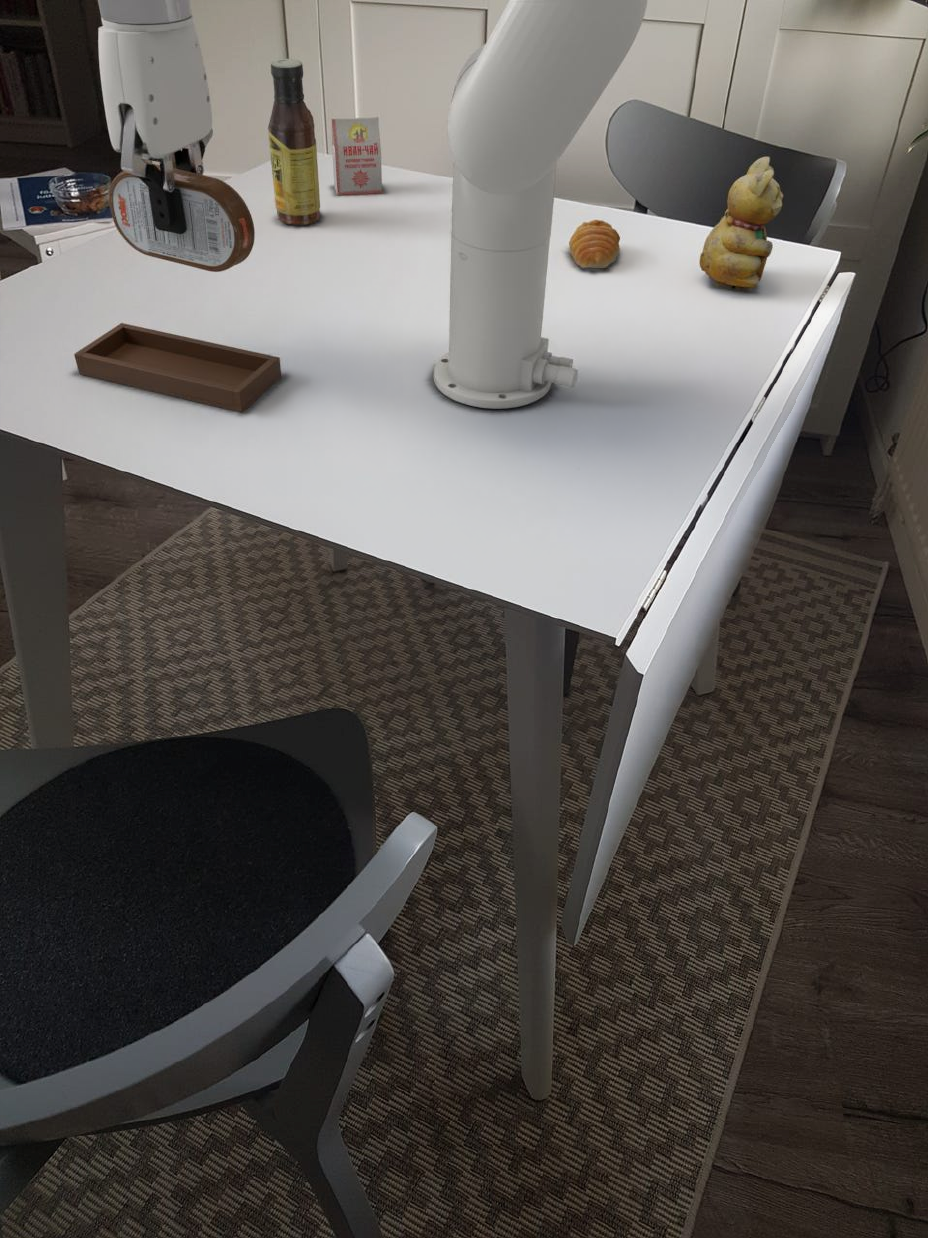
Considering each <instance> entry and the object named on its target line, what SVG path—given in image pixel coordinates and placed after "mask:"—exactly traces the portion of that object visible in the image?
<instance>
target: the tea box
mask: <svg viewBox="0 0 928 1238" xmlns="http://www.w3.org/2000/svg"><path fill="white" fill-rule="evenodd" d="M380 134H381V133H380V122H379V116H376V117H375V116H374V117H370V116H369V117H345V118H344V117H343V118H342V117H341V118H340V117H339V118H331V152H332V154H331V155H332V168H333V169H332V170H333V185H334V186H333V187H334V189H335V192H336V195H337V196H350V195H370V194H371V195H372V194H383V175H382V174H383V173H382V172H383V171H382V147H381V146H382V145H381V135H380Z"/></svg>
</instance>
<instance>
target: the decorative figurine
mask: <svg viewBox="0 0 928 1238" xmlns="http://www.w3.org/2000/svg"><path fill="white" fill-rule="evenodd" d="M770 161H771V157H770V156H763V157H760V158H758V159H757V160H755V161H754V162H753V163H752V164H751V165H749V168H748V169H747V172H746V174H745V175H743V176H741V177H739V178H738V179H736V180H735V181H734V182H733V184H732V185H731V187H730V188H729V191H728V195H727V201H726V202H727V209H726V210H725V212H724V216H722V217H721V219H720V221H719V222H718V223H717V224H715V226H713V228H712V230H711V231H710V232H709V234H708V235H707V237H706V239H705V241H704V244H703V247H702V252H701V253H700V255H699V267H700V269H701V271H702V272H704V273H705V275H706V276H707V277H708V278H709V279H710V280H714V285H713V286H714V288H718V289H725V290H734V291H736V292H744V293H752V292H753V289H754V288H756V287H757V285H758V284H759V282H761V280H762V277H763V274H764V270H765V266H766V264H767V260H768V258H769V257H770V256H771V254H772V251H773V248H774V247H773V246H774V245H773V241H770V240H768V236H767V230H766V226H765V224H767V223H769V222H771V221H772V220H773V219H774V218H775V217H777V215H779V214H781V211H782V208H783V199H784V194H783V192H782V191H781V186H780V184H779V183H778V182H777V181H776V179H775V177H774V176H775V171H774V167H772V166H771V165H770Z"/></svg>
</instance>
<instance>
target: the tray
mask: <svg viewBox="0 0 928 1238" xmlns="http://www.w3.org/2000/svg"><path fill="white" fill-rule="evenodd" d="M73 356H74V359H75V363H76V367H77V371H78V374H79V375H82V376H85V377H89V378H90V377H91V378H93V379H94V378H95V379H97V380H98V379H99V380H103V381H105V382H106V381H107V382H111V383H115V384H119V385H123V386H128V387H132V388H137V389H140V390H144V391H148V392H152V393H153V392H154V393H156V394H157V393H159V394H162V395H166V396H171V397H174V398H178V399H183V400H188V401H191V402H195V403H199V404H204V405H208V406H212V407H217V408H221V409H224V410H229V411H232V412H233V411H234V412H237V413H244V412H245V411H246V410H247V409H248V408H249V407H250V406H251V405H253V404H254V403H255V402H256V401H257V400H258V399H259V398H261V396H263V395H264V394H265V393H266V392H267V391H269V389H271V388H272V387H273V386H274V385H275V384H277V383H278V381H279V380H281V379H282V377H283V376H282V366H281V365H282V364H281V358H280V357H279V356H275V355H270V354H265V353H260V352H257V351H253V350H247V349H244V348H238V347H234V346H229V345H225V344H220V343H215V342H212V341H206V340H202V339H198V338H192V337H188V336H183V335H179V334H174V333H169V332H165V331H161V330H156V329H152V328H147V327H143V326H138V325H134V324H128V323H125V322H120V323H119V324H118V325H116V326H115V327H113V328H111V329H110V330H109V331H107V332H106V333H104V334H102V335H101V336H99V337H97V338H96V339H95V340H93V341H91V342H90V343H88V344H87V345H85V346H84V347H83V348H81V349H79V350H78V351H76V352H75V353H74V355H73Z"/></svg>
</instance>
